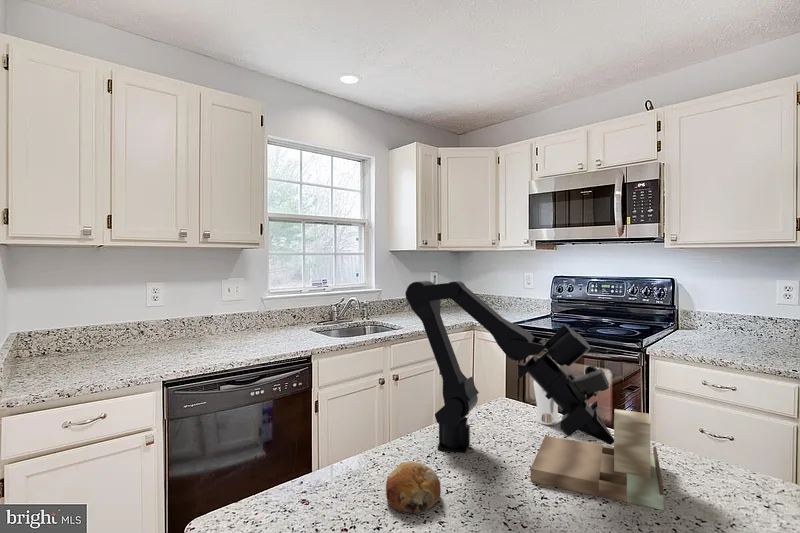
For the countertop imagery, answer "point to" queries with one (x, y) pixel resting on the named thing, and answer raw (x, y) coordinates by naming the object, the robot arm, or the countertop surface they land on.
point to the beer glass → (545, 407)
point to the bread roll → (412, 487)
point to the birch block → (632, 443)
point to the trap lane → (595, 472)
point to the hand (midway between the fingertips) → (612, 442)
